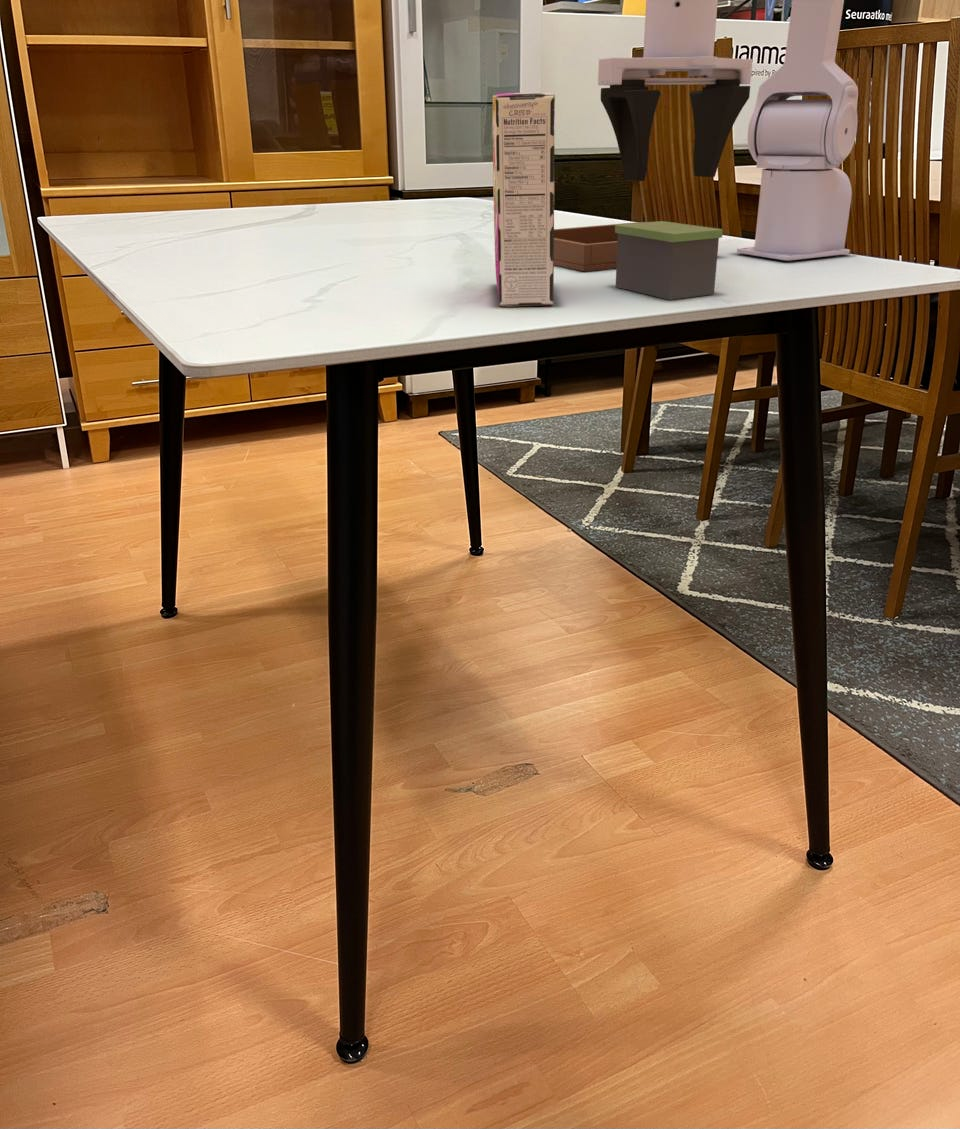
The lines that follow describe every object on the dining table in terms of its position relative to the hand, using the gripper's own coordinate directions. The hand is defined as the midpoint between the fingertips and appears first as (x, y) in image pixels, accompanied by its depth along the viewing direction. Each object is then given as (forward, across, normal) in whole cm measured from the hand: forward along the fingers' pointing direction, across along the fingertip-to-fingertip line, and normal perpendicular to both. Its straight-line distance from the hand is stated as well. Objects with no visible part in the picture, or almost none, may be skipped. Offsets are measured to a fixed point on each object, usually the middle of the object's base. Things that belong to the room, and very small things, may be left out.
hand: (670, 178), depth 83 cm
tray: (+9, +9, +20) cm, 24 cm away
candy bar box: (+10, -12, +5) cm, 16 cm away
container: (+10, 0, 0) cm, 10 cm away
